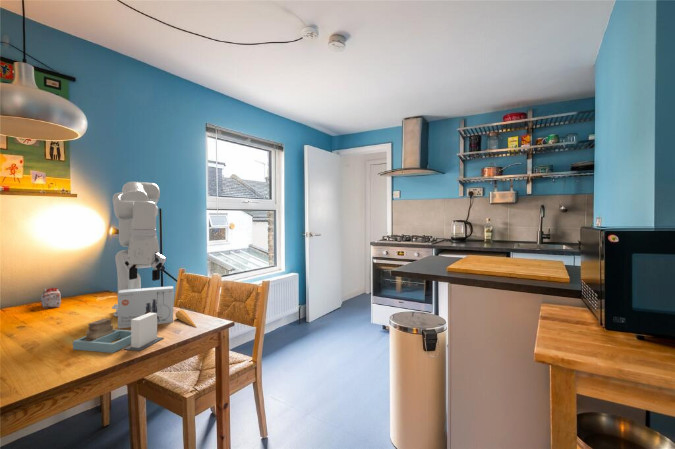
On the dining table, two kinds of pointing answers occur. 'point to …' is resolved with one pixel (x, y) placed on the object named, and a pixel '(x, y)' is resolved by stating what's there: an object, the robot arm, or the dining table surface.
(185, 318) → the carrot
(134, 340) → the white upright slab
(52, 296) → the food item
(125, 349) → the mat
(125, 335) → the tray
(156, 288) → the skincare box
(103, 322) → the offcut top
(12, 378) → the dining table surface
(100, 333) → the offcut middle
